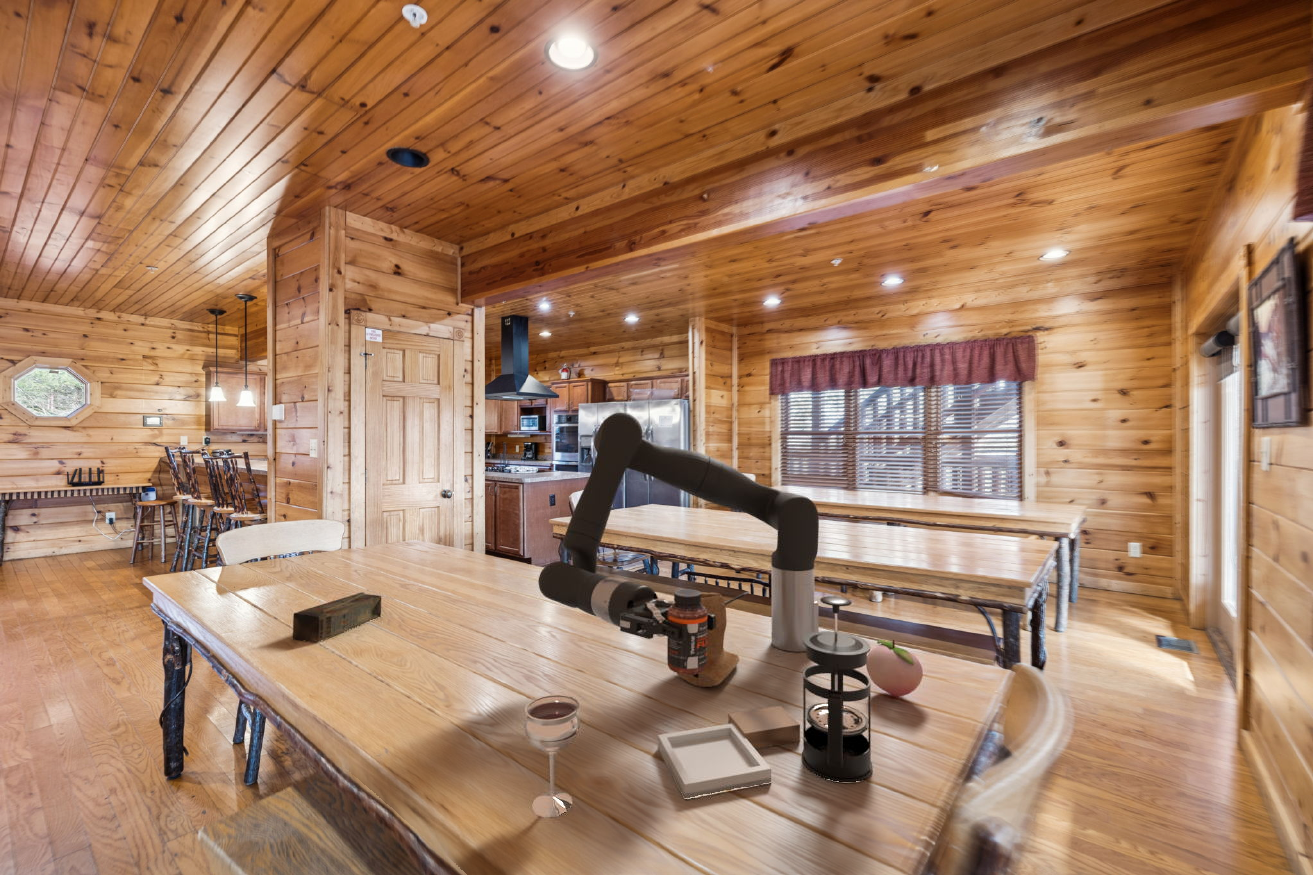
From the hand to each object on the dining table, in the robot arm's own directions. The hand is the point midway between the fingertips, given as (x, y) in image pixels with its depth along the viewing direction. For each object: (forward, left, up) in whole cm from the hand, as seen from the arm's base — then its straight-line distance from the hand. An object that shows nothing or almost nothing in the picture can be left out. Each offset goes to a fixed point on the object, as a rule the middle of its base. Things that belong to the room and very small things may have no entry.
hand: (700, 628), depth 80 cm
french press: (-17, +9, -18) cm, 26 cm away
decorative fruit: (-38, -6, -18) cm, 43 cm away
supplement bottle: (+1, -2, -7) cm, 7 cm away
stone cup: (-10, -25, -18) cm, 32 cm away
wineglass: (+22, +6, -18) cm, 29 cm away
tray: (0, +4, -18) cm, 18 cm away
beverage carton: (+65, -73, -18) cm, 100 cm away
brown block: (-11, -1, -18) cm, 21 cm away
